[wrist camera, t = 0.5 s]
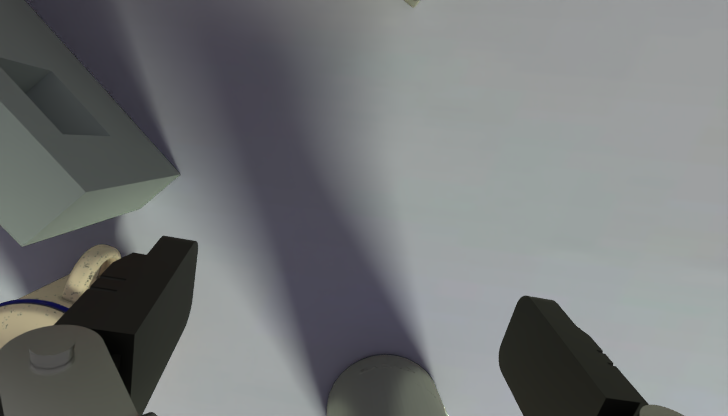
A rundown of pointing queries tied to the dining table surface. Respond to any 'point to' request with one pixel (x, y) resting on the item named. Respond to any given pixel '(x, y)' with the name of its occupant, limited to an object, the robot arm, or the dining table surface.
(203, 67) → the dining table surface
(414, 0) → the coffee box
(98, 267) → the teacup with lid
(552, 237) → the dining table surface
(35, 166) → the button panel
